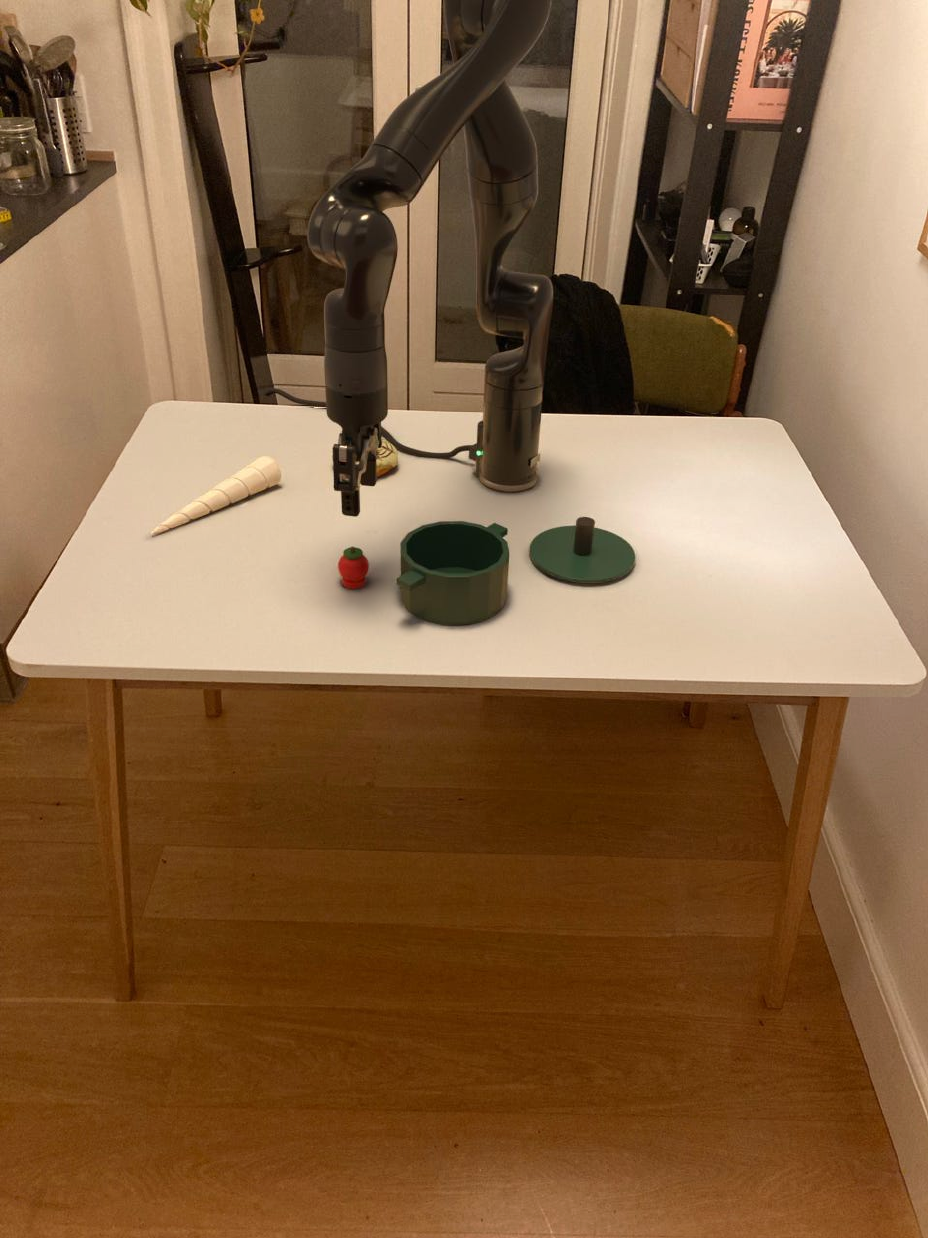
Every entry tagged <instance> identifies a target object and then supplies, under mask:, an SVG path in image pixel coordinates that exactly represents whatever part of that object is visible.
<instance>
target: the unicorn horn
mask: <svg viewBox="0 0 928 1238" xmlns="http://www.w3.org/2000/svg"><path fill="white" fill-rule="evenodd" d="M281 481H282V471H281V469H280V466H279V464H278V463H277V461H275V459H274V458H272V457H270V456H268V455H263V456H261V457H259V458H257V459H256V460H254V461H253V462H251V463H250V464H248V465H247V466H245V467H243V468H242V469H241V470H239V471H237V472H236V473H234V474H232V475H231V476H229V477H227V479H225V480H223V481H222V482H220V483H218V484H217V485H216V486H214V487H212V488H211V489H210V490H207V492H205V493H203V494H202V495H200V496H198V497H197V498H196V499H194V500H193V501H192V502H190V503H188V504H187V505H185V506H184V507H183V508H181V509H180V510H179V511H177V512H175V513H174V514H173V515H171V516H170V517H168V518H167V519H165V520H164V521H163V522H161V523H160V524H159V525H157V526H156V527H155V528H154V529H152V530H151V532H150V535H156V534H159V533H162V532H165V531H168V530H170V528H171V529H173V528H176V527H179V526H181V525H183V524H186V523H189V522H190V521H191V520H196V519H197V518H198V519H199V518H201V517H203V516H206V515H208V514H210V512H215V511H218V510H220V509H222V508H225V507H228V506H229V505H230V504H231V505H232V504H234V503H236V502H240V501H241V500H244V499H246V498H248V497H249V496H253V495H255V494H258V493H260V492H262V491H265V490H266V489H270V488H271V487H274V486H276V485H278V484H280V483H281Z"/></svg>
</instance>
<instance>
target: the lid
mask: <svg viewBox="0 0 928 1238" xmlns="http://www.w3.org/2000/svg"><path fill="white" fill-rule="evenodd" d="M575 521H576V522H575V524H574V525H561V526H557V527H552V528H549V529H546V530H544V531H541V532H540V533H539V534H537V535H536V536H535V537H534V538H533V539H532V540H531V541H530V544H529V550H528V551H529V556H530V558H531V561H532V562H533V563H534V564H535V566H536V567H538V568H539V569H540V570H541V571H543V572H545V573H546V574H548V575H550V576H552V577H555V578H558V579H561V580H564V581H568V582H574V583H581V584H582V583H584V584H597V583H606V582H609V581H614V580H617V579H619V578H621V577H624V576H625V575H627V574H628V573H629V572H630V571H631V570H632V569H633V568H634V566H635V563H636V554H635V550H634V548H633V546H632V545H631V544H630V543H629V542H628V541H627V540H626V539H624V538H623V537H621V536H620V535H618V534H616V533H613V532H611V531H609V530H606V529H603V528H599V527H596V525H595V524H596V520H595V519H593V518H592V517H590V516H580V517H578V518H577V519H576V520H575Z"/></svg>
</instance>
